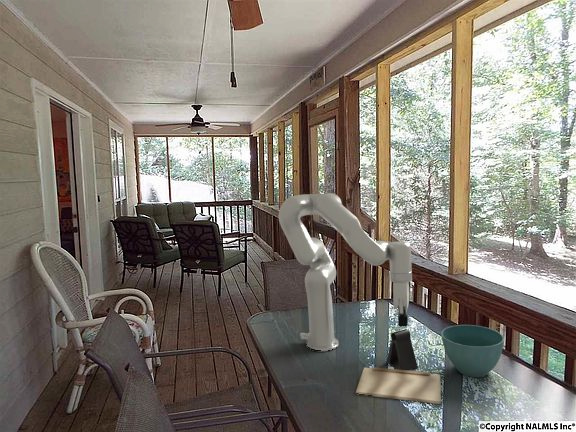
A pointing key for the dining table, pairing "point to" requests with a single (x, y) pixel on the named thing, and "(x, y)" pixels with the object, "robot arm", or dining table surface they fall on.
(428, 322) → the dining table surface
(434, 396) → the board
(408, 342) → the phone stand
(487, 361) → the plant pot
